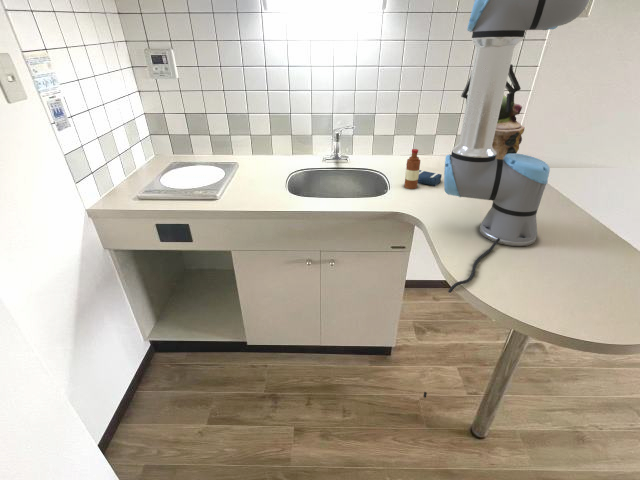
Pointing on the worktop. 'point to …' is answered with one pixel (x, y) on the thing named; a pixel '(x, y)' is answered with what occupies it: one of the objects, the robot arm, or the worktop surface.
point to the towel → (429, 178)
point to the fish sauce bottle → (412, 170)
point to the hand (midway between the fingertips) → (489, 114)
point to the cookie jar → (507, 130)
